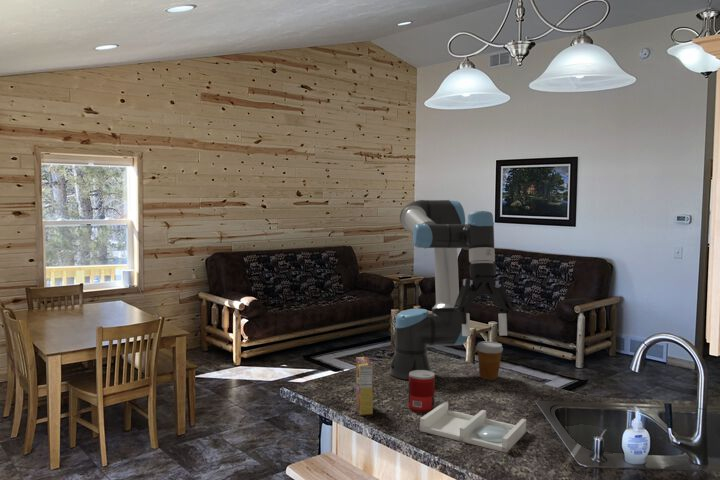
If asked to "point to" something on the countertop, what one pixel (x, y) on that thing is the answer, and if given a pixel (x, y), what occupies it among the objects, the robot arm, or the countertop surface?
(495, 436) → the saucer
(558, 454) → the countertop surface
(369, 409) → the candy box
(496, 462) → the countertop surface
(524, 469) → the countertop surface
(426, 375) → the canned food
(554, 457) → the countertop surface
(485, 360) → the disposable coffee cup
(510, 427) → the rack
